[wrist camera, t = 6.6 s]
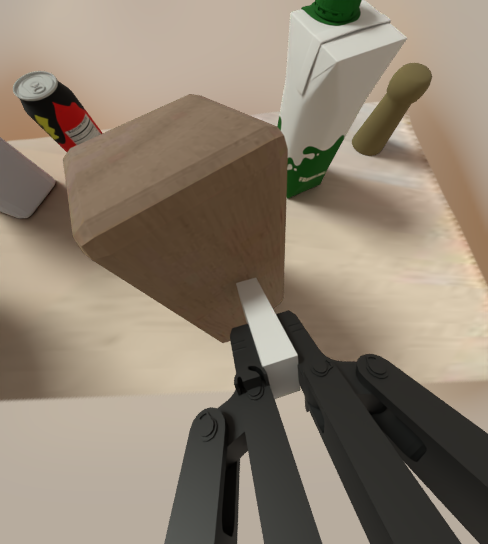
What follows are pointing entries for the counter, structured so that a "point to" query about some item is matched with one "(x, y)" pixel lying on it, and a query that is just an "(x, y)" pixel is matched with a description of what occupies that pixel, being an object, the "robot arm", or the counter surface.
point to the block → (185, 207)
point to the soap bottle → (21, 183)
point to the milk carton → (329, 80)
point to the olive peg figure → (392, 108)
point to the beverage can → (55, 109)
